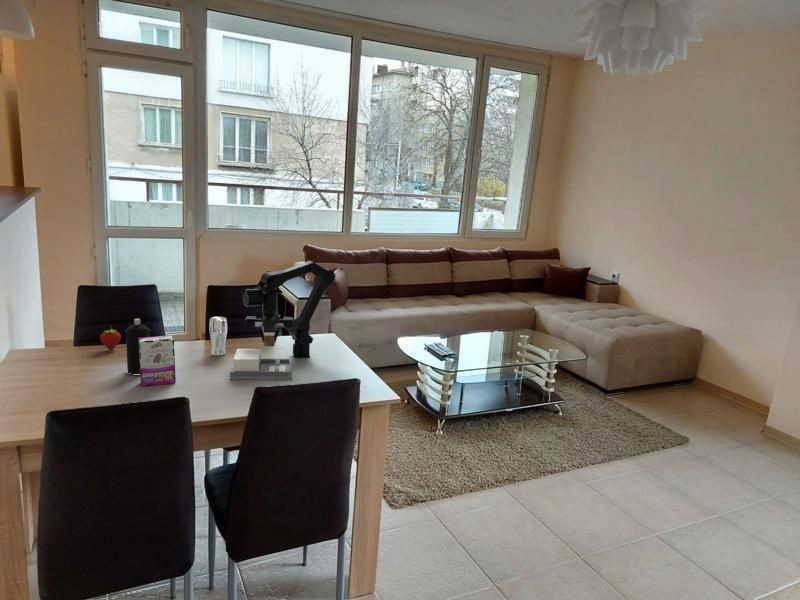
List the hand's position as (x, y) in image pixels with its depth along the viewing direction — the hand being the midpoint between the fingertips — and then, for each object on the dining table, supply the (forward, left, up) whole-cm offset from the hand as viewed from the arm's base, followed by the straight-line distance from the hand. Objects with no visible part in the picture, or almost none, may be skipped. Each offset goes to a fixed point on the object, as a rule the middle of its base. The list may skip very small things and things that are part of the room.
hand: (269, 342), depth 214 cm
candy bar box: (+37, +23, -8) cm, 44 cm away
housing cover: (+7, +12, -6) cm, 16 cm away
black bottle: (+46, +12, -8) cm, 48 cm away
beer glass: (+21, -9, -8) cm, 24 cm away
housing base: (+2, +12, -8) cm, 15 cm away
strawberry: (+63, -13, -8) cm, 65 cm away
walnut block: (0, 0, -1) cm, 1 cm away
